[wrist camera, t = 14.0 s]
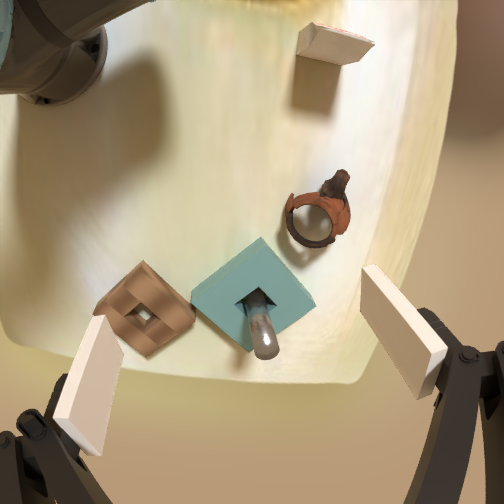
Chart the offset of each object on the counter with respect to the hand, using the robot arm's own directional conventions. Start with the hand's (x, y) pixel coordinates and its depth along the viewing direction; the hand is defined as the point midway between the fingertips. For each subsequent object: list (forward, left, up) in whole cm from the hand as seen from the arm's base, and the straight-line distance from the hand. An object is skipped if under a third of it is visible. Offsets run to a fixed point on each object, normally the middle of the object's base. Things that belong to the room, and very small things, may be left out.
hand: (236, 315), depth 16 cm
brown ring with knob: (+12, +9, -32) cm, 35 cm away
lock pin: (+18, -8, -32) cm, 37 cm away
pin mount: (+8, -23, -32) cm, 40 cm away
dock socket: (+18, -8, -32) cm, 37 cm away
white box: (-6, +23, -32) cm, 40 cm away
